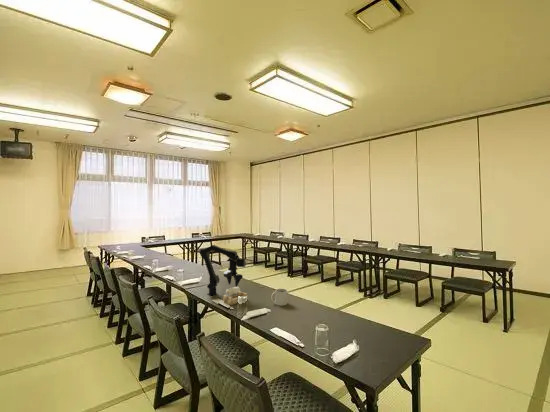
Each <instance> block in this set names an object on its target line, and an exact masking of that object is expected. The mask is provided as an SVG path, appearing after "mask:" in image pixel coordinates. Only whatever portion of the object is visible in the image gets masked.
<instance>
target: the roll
mask: <svg viewBox="0 0 550 412" xmlns="http://www.w3.org/2000/svg"><path fill="white" fill-rule="evenodd" d="M238 291H241V289H240V287H239V286H238V285H237V287H236V286H234V287H230V288H226V290H225V294H226V295H227V296H228V297H229V296H232V295H236V294H238Z"/></svg>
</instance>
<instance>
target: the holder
mask: <svg viewBox="0 0 550 412" xmlns="http://www.w3.org/2000/svg"><path fill="white" fill-rule="evenodd" d="M238 296H247V297H248V293H246V292H242V291H241V290H240V291H238V295H234V296H230V297H228V296H226V295H225V294H223V295H222V302H223V301H224V302H223V303H225V302H226V303H225V304H227V303H228V304H227V305H230V306H232V305H236V304H238V303H237V300H238V299H237V297H238Z"/></svg>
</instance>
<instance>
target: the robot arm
mask: <svg viewBox="0 0 550 412" xmlns="http://www.w3.org/2000/svg"><path fill="white" fill-rule="evenodd" d="M212 251H214V252H216V253H220V254H221V255H224V256H226V257H227V258H228V259H227V260H226V261H227V262H229V267H228V269H227V270H225V271H224V272H223V274H222V275H223V276H224V277H225V278H226V279H227V282H228V285H231V284H232V278H233V280H234V285H235V286H234V287H237V286H238V285H239V283H240V281H241V280H242V279H243V278H244V277H243V275H242V274H241V273H238V272H237V270H238V268H245V267H246V265H247V261H246V258H240V256H239V255H238V251H236V250H231V249H230V250H229V249H226V248H223V247H220V246H217V245H215V244H212V245H210V246H208V247H205V248H202V249H200V251H199V255H200V257H201V258H202V259H203V261H204V263H205V267H206V269H207V273H208V275H209V278H208V279H209V283H208V284H207V285H206V286H207V289H208V293H207V295H208V296H211V297H213V296H217V295H218V293H217V286H218V285H219V283H220V280H221V279H220V276H219V274H216V273H215V270H214V266H213V263H212V261H211V254H210V253H211V252H212Z"/></svg>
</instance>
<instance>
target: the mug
mask: <svg viewBox="0 0 550 412" xmlns="http://www.w3.org/2000/svg"><path fill="white" fill-rule="evenodd" d="M274 295H275V298H274V299H275V300H274V299H273V296H274ZM270 298H271V301H272V302H273V303H275V305H277V306H280V307H282V306H286V305H288V289H285V288H277V289H275V291H274V292H272V294H271V297H270Z"/></svg>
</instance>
